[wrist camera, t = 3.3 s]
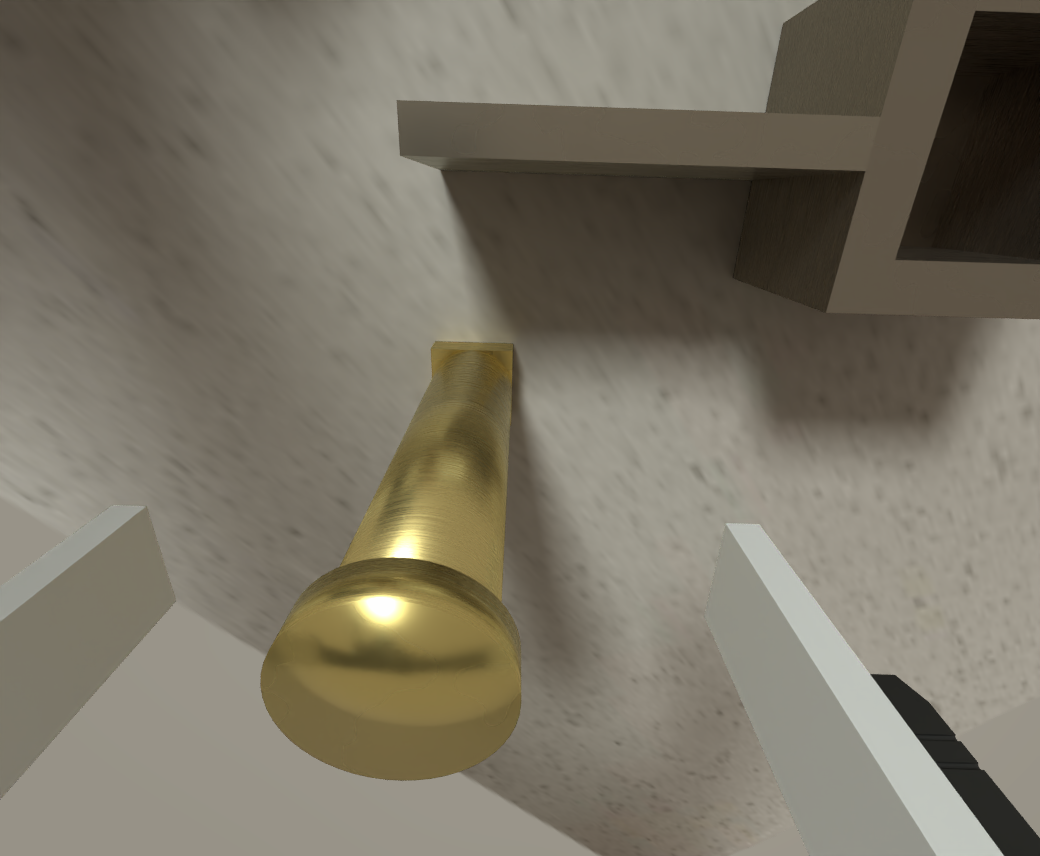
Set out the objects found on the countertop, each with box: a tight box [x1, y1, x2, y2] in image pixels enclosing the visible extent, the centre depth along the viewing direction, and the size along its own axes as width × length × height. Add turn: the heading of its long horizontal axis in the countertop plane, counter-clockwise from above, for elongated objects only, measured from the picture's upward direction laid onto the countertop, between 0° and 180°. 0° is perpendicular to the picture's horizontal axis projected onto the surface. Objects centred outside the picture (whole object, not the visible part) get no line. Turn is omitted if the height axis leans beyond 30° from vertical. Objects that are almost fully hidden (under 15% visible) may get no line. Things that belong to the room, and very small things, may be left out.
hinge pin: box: [261, 341, 521, 781], centre depth 15 cm, size 4×4×16 cm
